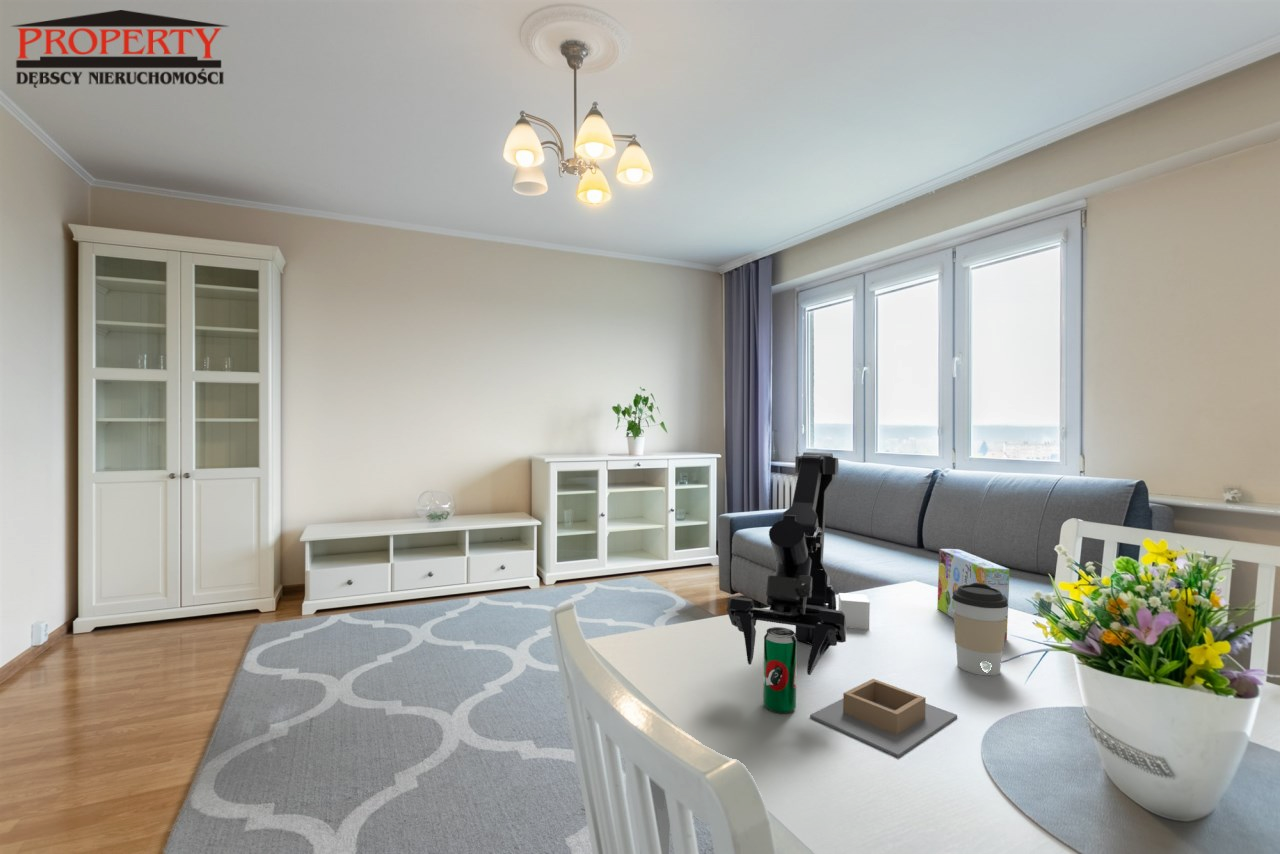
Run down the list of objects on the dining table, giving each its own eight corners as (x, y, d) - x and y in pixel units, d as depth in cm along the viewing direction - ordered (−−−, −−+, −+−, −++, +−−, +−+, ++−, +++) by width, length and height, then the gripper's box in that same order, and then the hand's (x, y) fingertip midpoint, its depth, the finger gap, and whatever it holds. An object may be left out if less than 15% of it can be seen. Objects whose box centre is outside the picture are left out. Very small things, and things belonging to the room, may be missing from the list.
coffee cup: (1006, 682, 106) (1007, 597, 106) (948, 670, 110) (950, 589, 110) (1007, 665, 113) (1008, 585, 113) (953, 654, 118) (954, 578, 118)
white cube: (838, 618, 140) (838, 592, 140) (865, 621, 138) (866, 594, 138) (840, 627, 134) (841, 600, 134) (869, 629, 132) (869, 602, 132)
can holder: (872, 685, 104) (872, 666, 103) (957, 717, 93) (957, 695, 93) (810, 717, 92) (810, 695, 92) (898, 757, 81) (898, 732, 81)
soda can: (801, 713, 93) (802, 636, 93) (770, 715, 92) (771, 637, 92) (788, 698, 98) (789, 625, 98) (758, 700, 97) (759, 626, 97)
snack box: (1010, 640, 127) (1011, 568, 127) (983, 639, 127) (984, 568, 127) (958, 608, 148) (959, 547, 148) (935, 608, 148) (936, 547, 148)
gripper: (730, 549, 103) (710, 634, 93) (846, 560, 95) (837, 654, 85) (741, 584, 110) (723, 666, 100) (849, 597, 102) (842, 688, 92)
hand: (778, 668), depth 94 cm, fingers open, 9 cm apart
